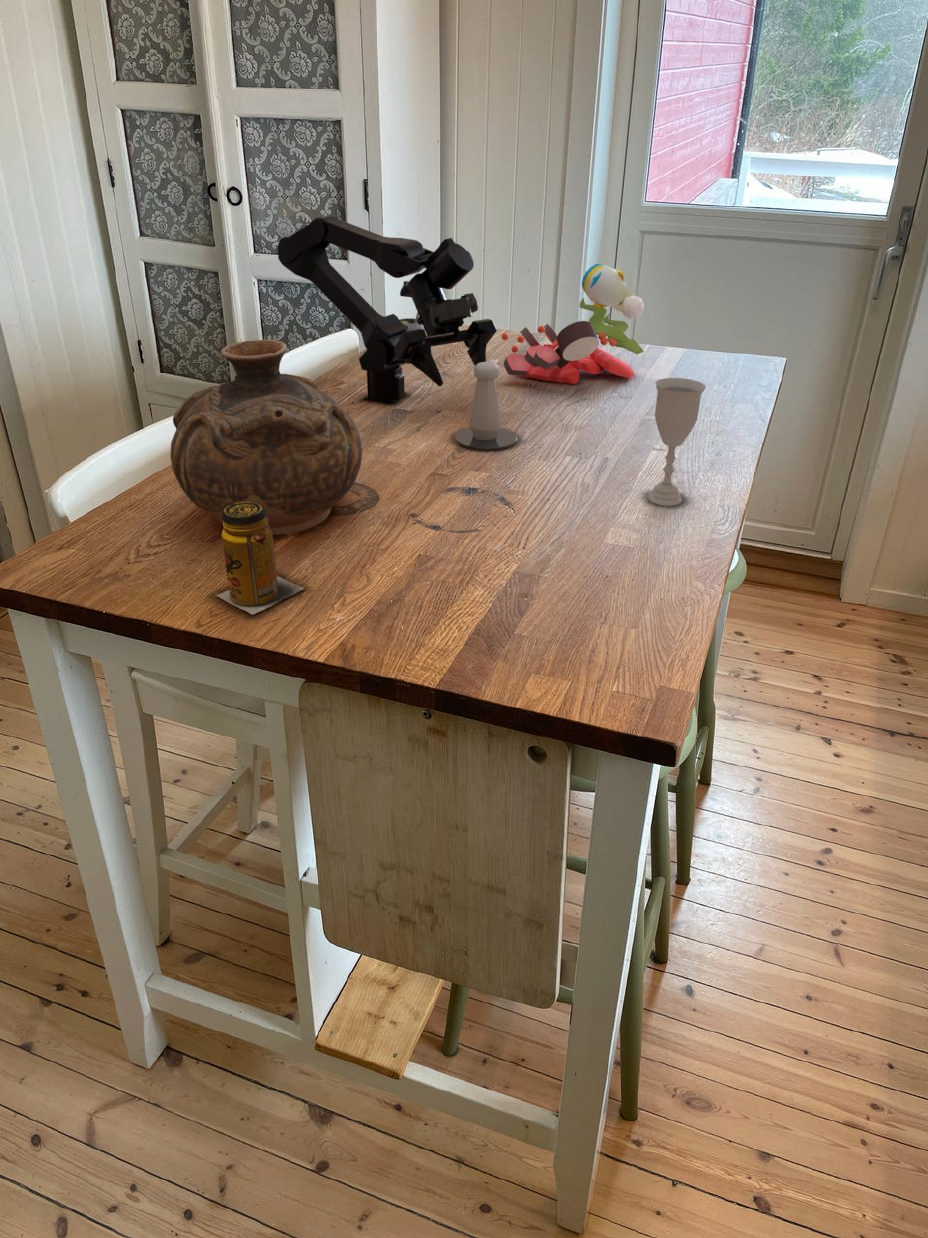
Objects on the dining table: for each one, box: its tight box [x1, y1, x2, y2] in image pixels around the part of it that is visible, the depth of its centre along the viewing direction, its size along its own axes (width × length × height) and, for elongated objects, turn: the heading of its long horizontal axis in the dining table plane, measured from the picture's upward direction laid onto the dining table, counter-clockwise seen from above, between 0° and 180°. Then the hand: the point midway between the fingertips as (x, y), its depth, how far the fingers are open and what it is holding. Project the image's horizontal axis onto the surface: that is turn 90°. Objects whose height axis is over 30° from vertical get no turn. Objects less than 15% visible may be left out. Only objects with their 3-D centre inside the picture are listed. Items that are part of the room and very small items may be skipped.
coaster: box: [454, 427, 518, 452], centre depth 167 cm, size 11×11×1 cm
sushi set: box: [501, 263, 645, 385], centre depth 195 cm, size 29×30×24 cm
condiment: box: [215, 502, 306, 616], centre depth 116 cm, size 7×8×12 cm
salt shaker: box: [468, 361, 503, 441], centre depth 163 cm, size 6×6×13 cm
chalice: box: [648, 377, 707, 507], centre depth 141 cm, size 7×7×18 cm
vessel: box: [170, 339, 363, 536], centre depth 133 cm, size 27×28×25 cm
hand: (463, 381), depth 168 cm, fingers open, 9 cm apart
